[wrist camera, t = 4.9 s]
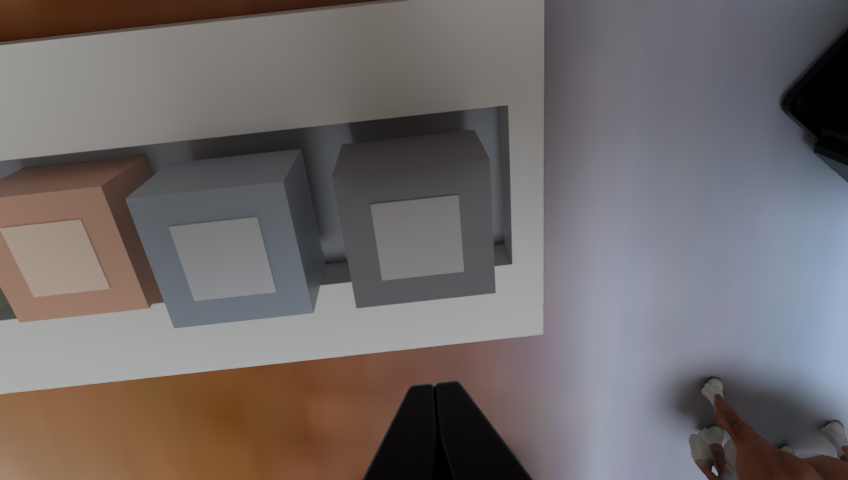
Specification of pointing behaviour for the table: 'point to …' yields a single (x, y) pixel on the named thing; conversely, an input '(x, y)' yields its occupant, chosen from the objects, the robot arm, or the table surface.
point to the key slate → (231, 238)
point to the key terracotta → (73, 240)
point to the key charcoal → (416, 218)
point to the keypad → (278, 131)
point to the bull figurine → (760, 449)
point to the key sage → (2, 299)
